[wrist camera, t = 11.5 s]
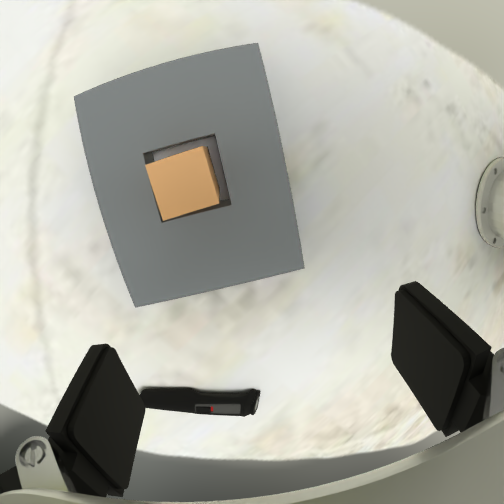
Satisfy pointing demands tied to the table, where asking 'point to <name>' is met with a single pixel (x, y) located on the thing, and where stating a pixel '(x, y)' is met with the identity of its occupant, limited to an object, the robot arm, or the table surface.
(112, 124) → the socket board
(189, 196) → the peg
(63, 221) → the table surface
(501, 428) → the robot arm
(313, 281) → the table surface
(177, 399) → the electric trimmer
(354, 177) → the table surface
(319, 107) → the table surface
